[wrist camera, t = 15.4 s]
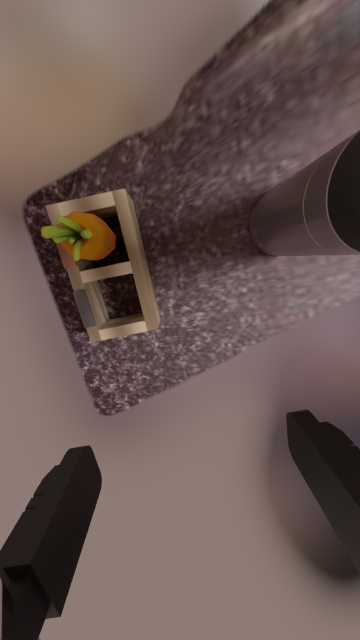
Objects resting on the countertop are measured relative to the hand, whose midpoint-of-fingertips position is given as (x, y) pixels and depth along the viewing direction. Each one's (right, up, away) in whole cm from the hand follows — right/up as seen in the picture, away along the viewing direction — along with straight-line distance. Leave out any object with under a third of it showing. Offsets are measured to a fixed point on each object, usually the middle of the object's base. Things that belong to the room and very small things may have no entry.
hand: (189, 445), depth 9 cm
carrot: (-11, +17, +24) cm, 31 cm away
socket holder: (-10, +13, +25) cm, 30 cm away
